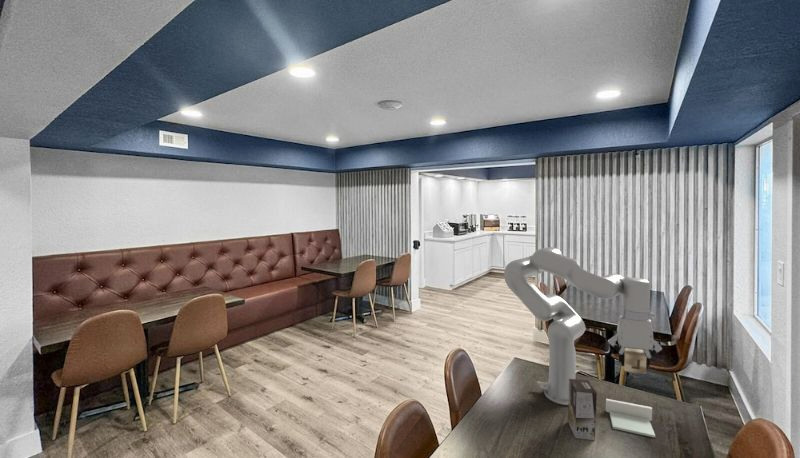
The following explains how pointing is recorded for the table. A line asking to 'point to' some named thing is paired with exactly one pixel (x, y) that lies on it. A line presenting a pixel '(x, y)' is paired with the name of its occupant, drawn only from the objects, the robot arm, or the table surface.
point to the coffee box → (582, 409)
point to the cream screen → (629, 409)
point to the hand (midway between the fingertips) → (633, 365)
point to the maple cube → (634, 361)
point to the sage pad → (632, 424)
